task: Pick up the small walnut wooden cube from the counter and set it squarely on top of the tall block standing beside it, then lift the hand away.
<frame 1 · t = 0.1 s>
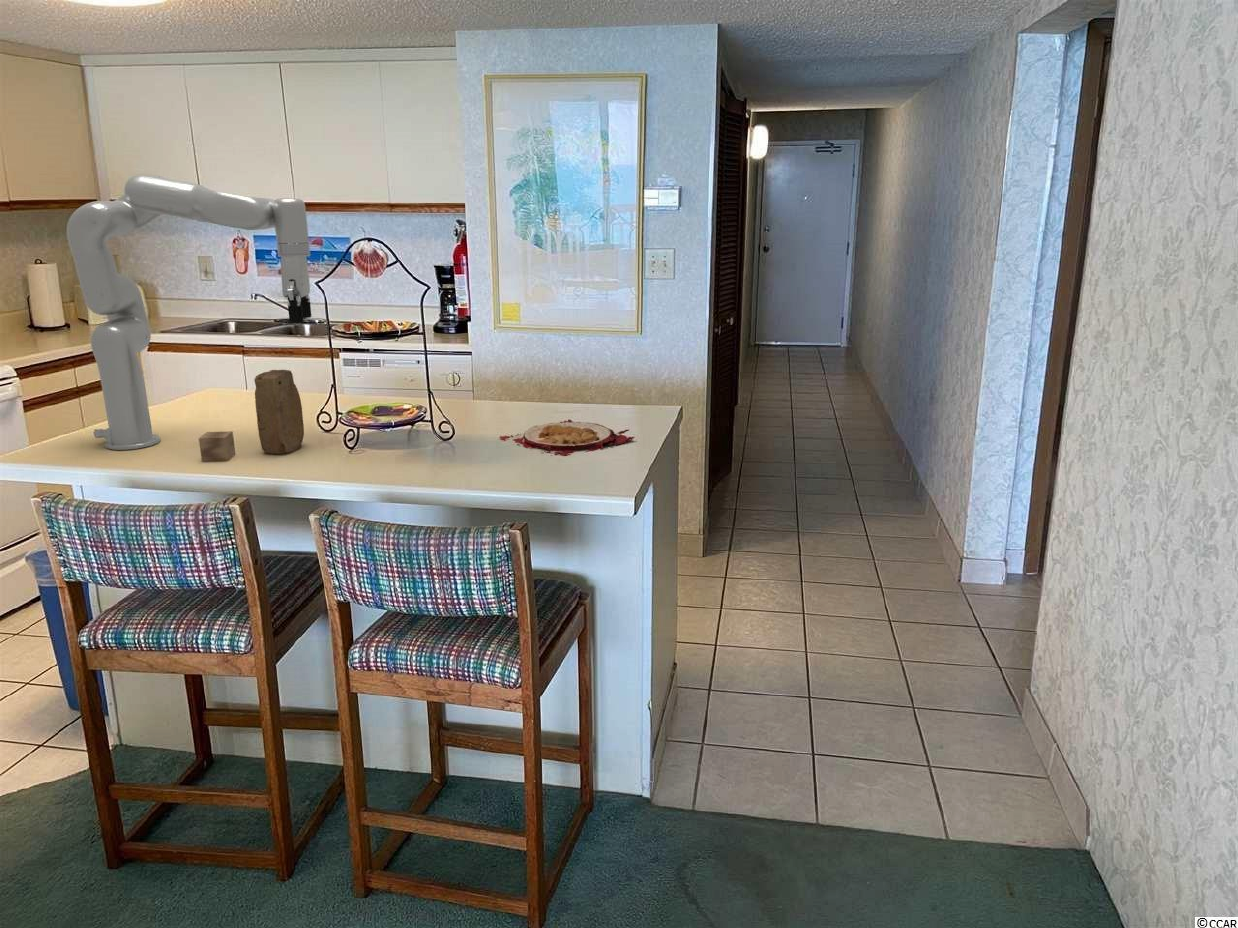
hand: (300, 320, 224), 31 cm above the worktop, tool pointing down, fingers open, 9 cm apart
plate with food: (566, 443, 232), on the worktop
cube: (219, 458, 216), on the worktop
block: (284, 450, 223), on the worktop
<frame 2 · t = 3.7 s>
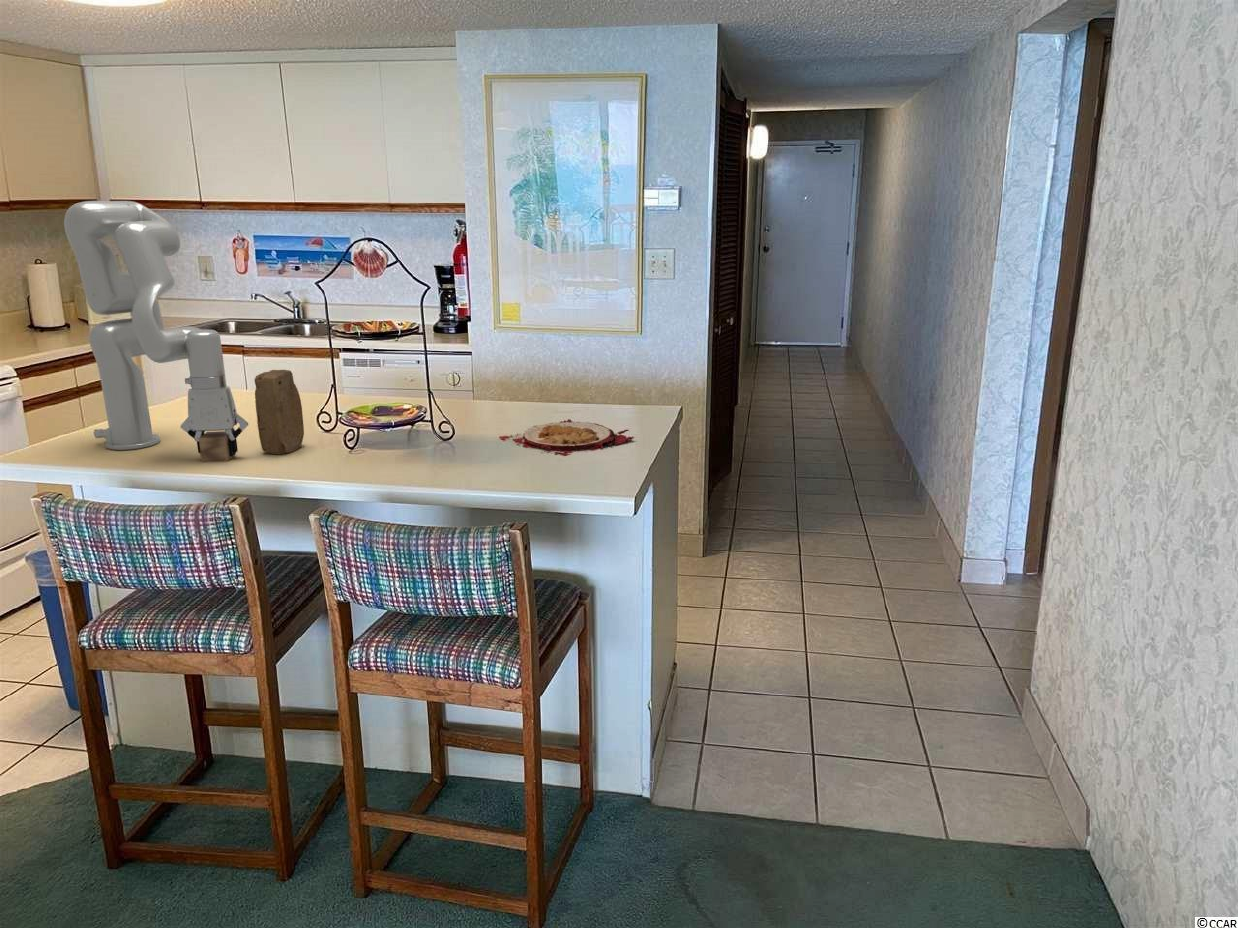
hand: (218, 454, 215), 1 cm above the worktop, tool pointing down, fingers closed on cube, 6 cm apart
cube: (219, 458, 216), on the worktop, touching gripper
everything else where it was.
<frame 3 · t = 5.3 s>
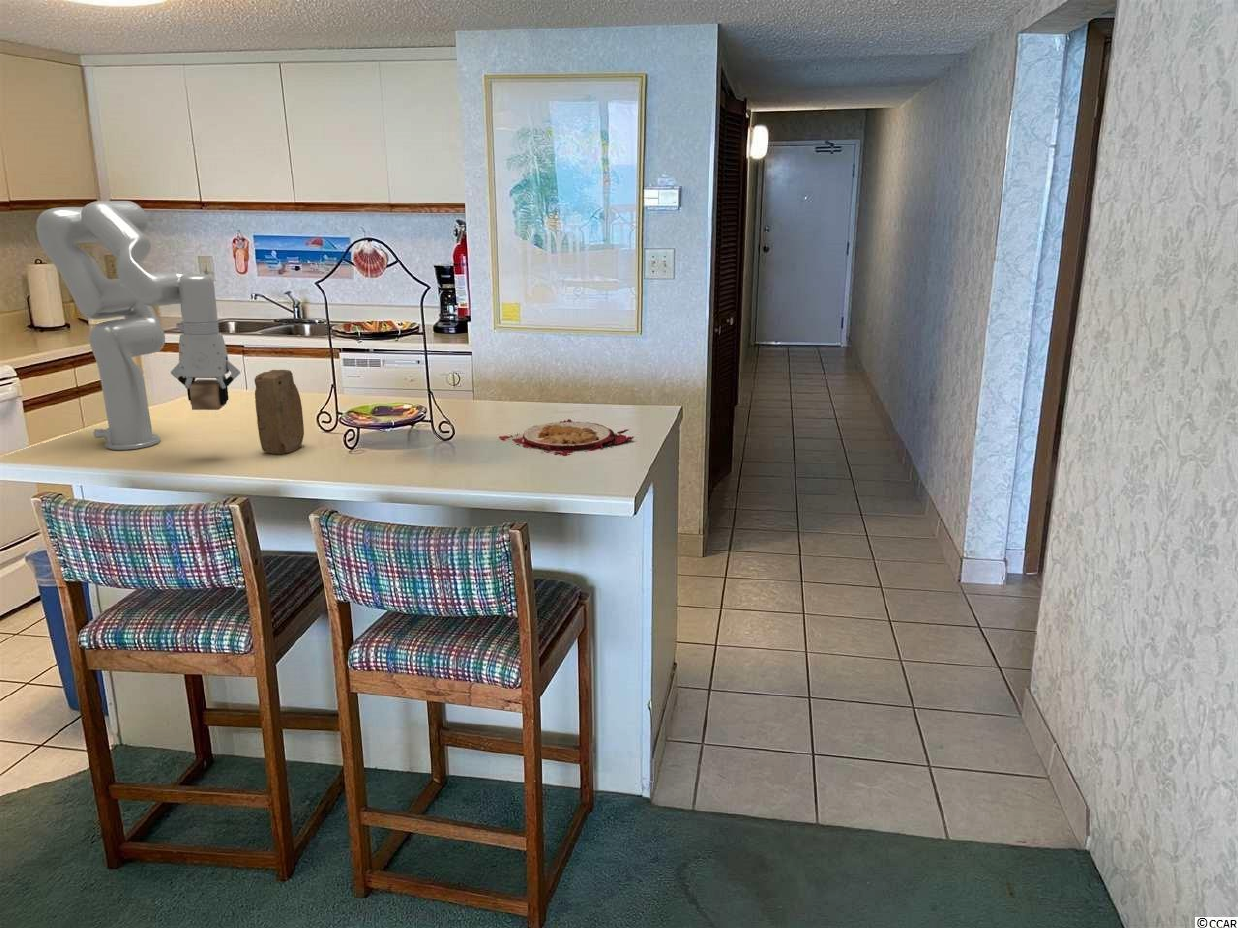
hand: (209, 402, 212), 14 cm above the worktop, tool pointing down, fingers closed on cube, 6 cm apart
cube: (209, 406, 212), point 13 cm above the worktop, touching gripper
everything else where it was.
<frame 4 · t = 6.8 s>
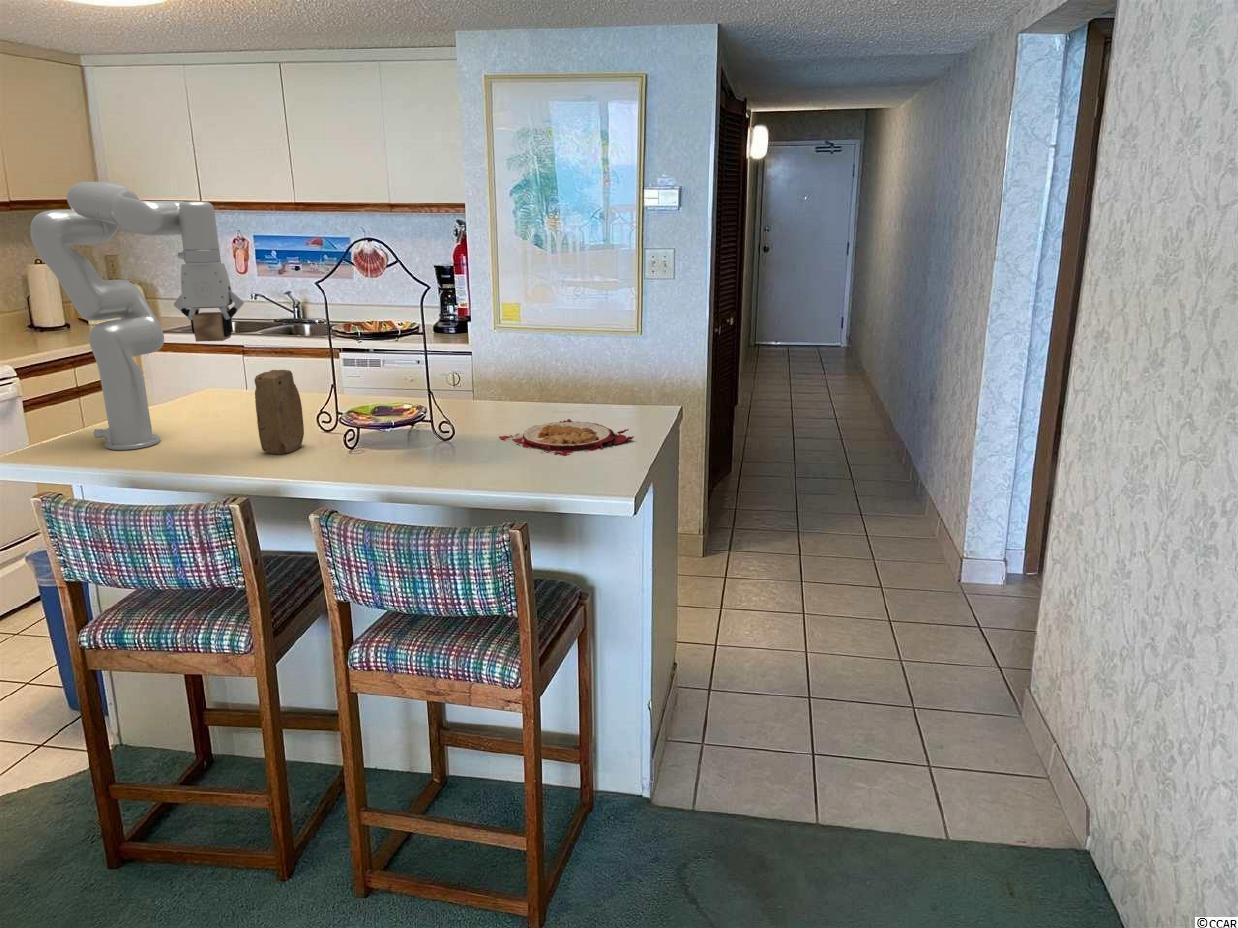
hand: (213, 335, 208), 30 cm above the worktop, tool pointing down, fingers closed on cube, 6 cm apart
cube: (213, 339, 208), point 29 cm above the worktop, touching gripper
everything else where it was.
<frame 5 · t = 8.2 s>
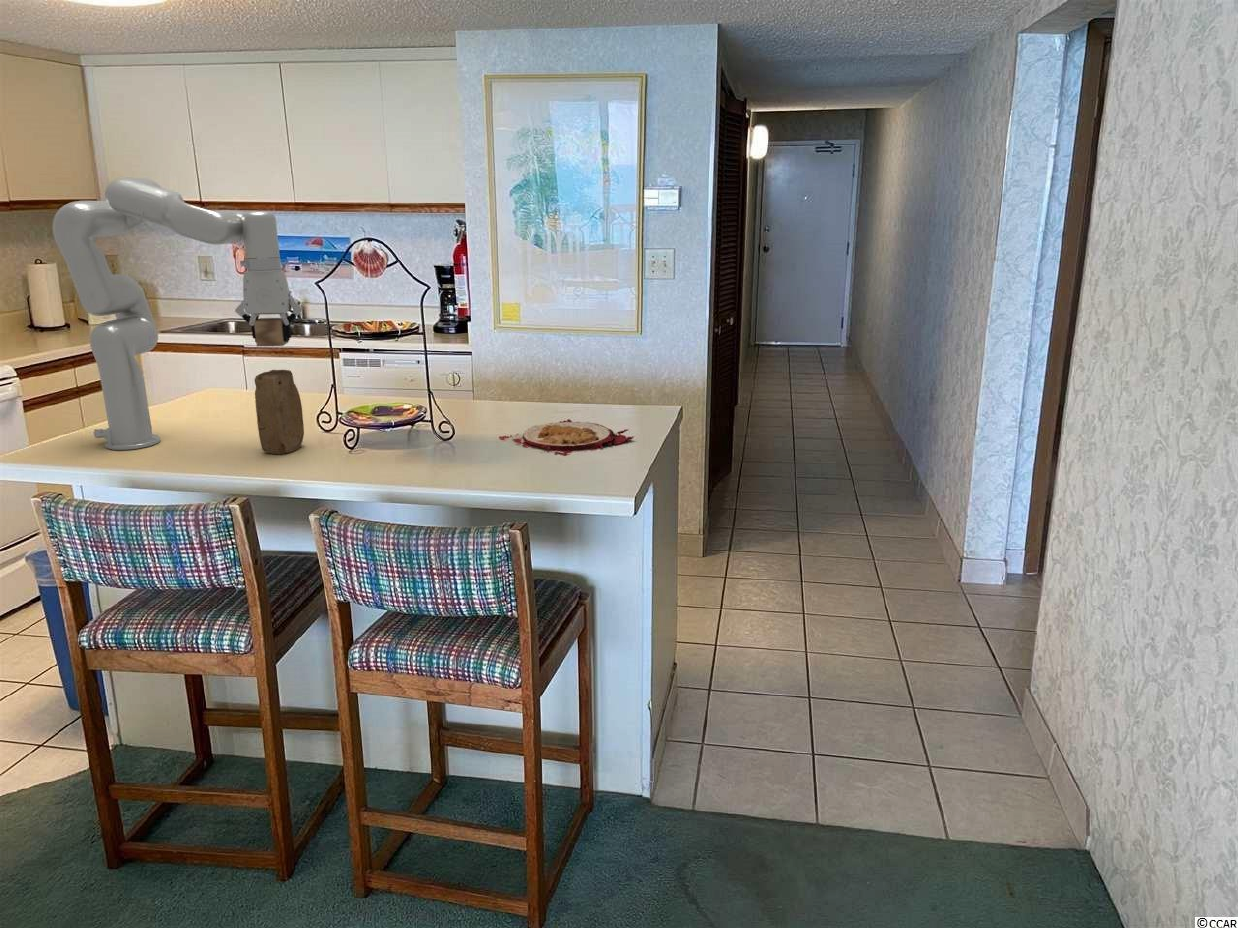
hand: (272, 340, 215), 28 cm above the worktop, tool pointing down, fingers closed on cube, 6 cm apart
cube: (272, 344, 215), point 27 cm above the worktop, touching gripper
everything else where it was.
when the fingers open (22 cm above the worktop, at t = 10.1 s): cube drops 1 cm, resting on block.
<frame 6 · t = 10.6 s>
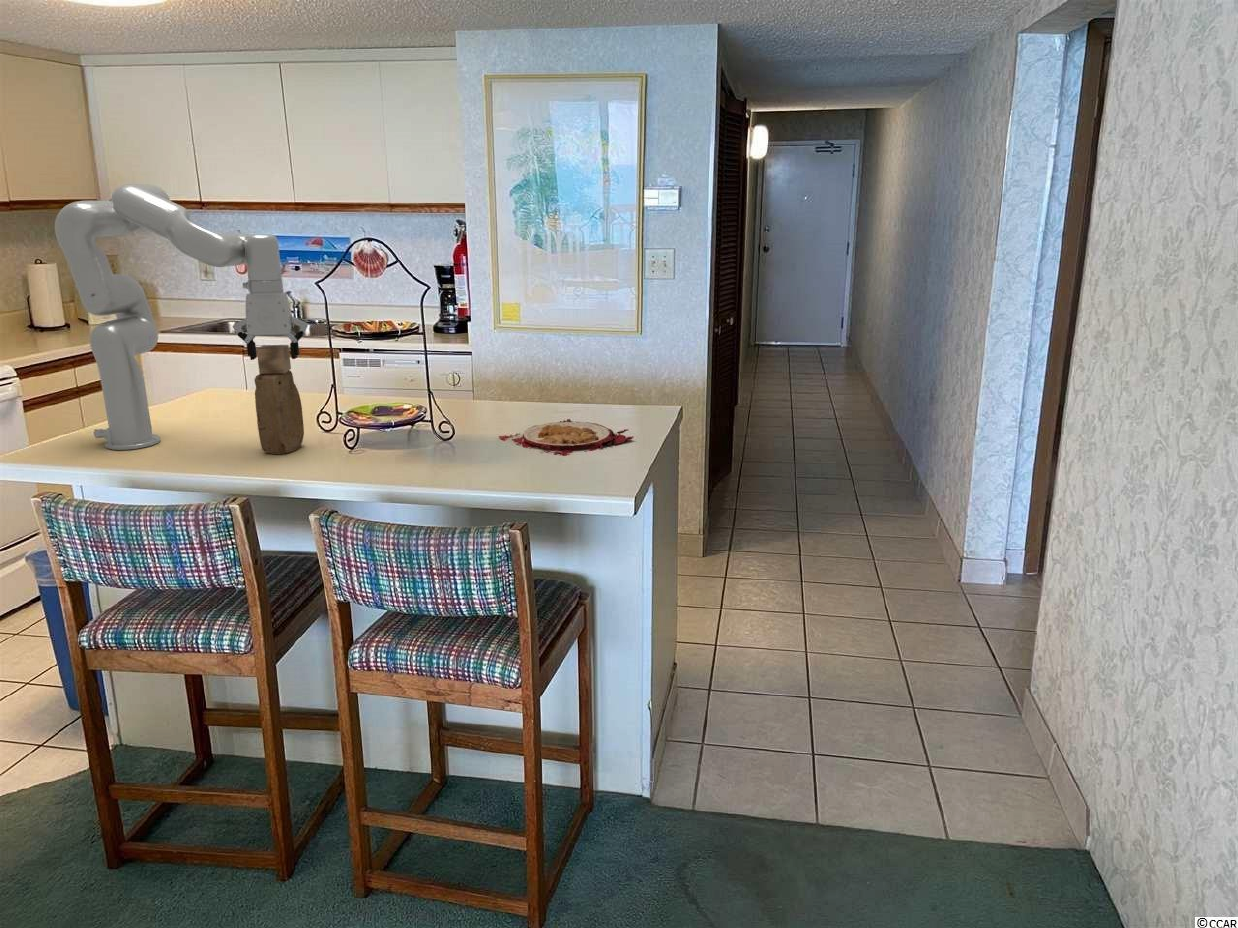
hand: (274, 358, 216), 23 cm above the worktop, tool pointing down, fingers open, 9 cm apart
cube: (275, 371, 217), point 20 cm above the worktop, touching block
block: (284, 450, 223), on the worktop, touching cube
everything else where it was.
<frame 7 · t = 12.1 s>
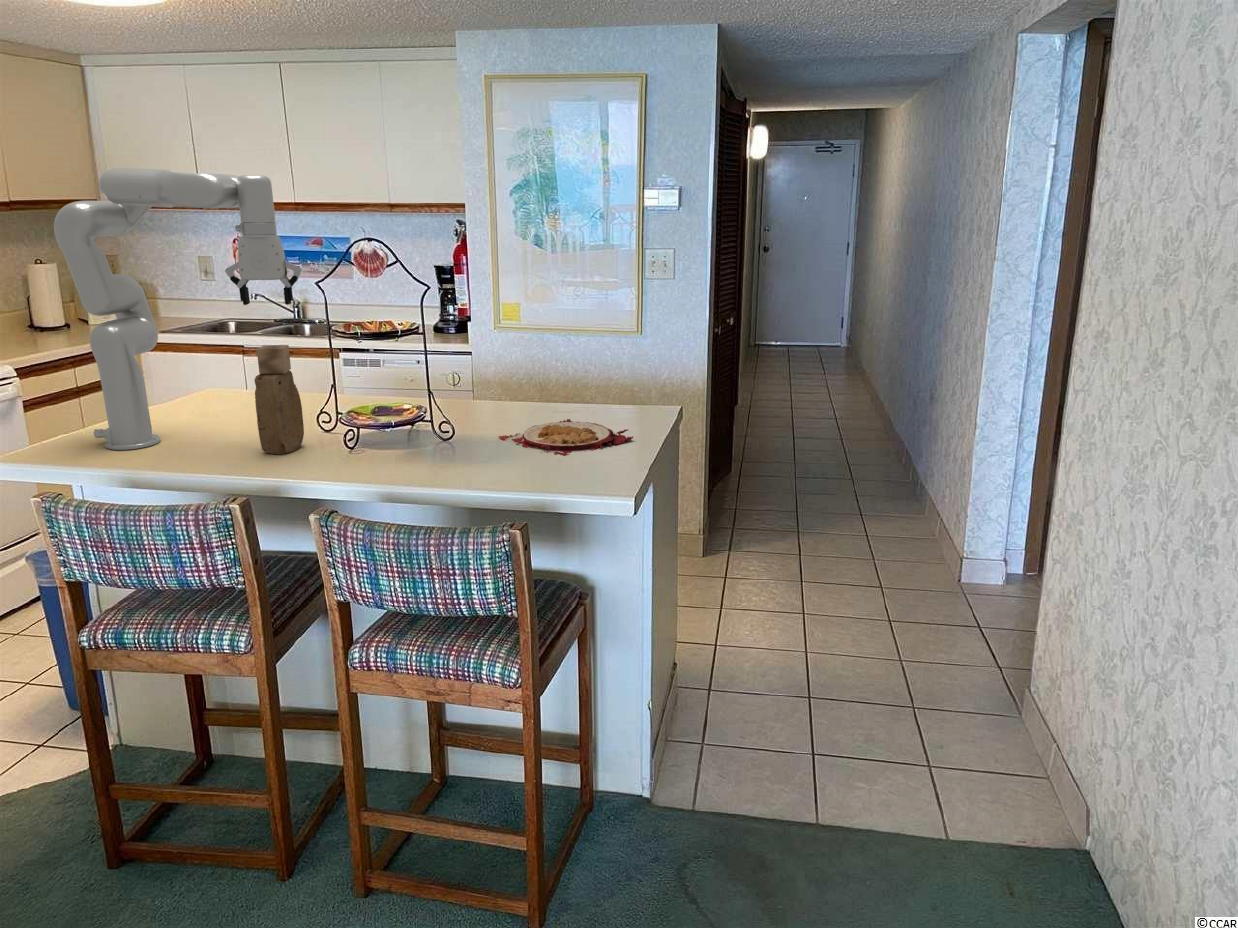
hand: (267, 304, 213), 36 cm above the worktop, tool pointing down, fingers open, 9 cm apart
nothing on the worktop moved.
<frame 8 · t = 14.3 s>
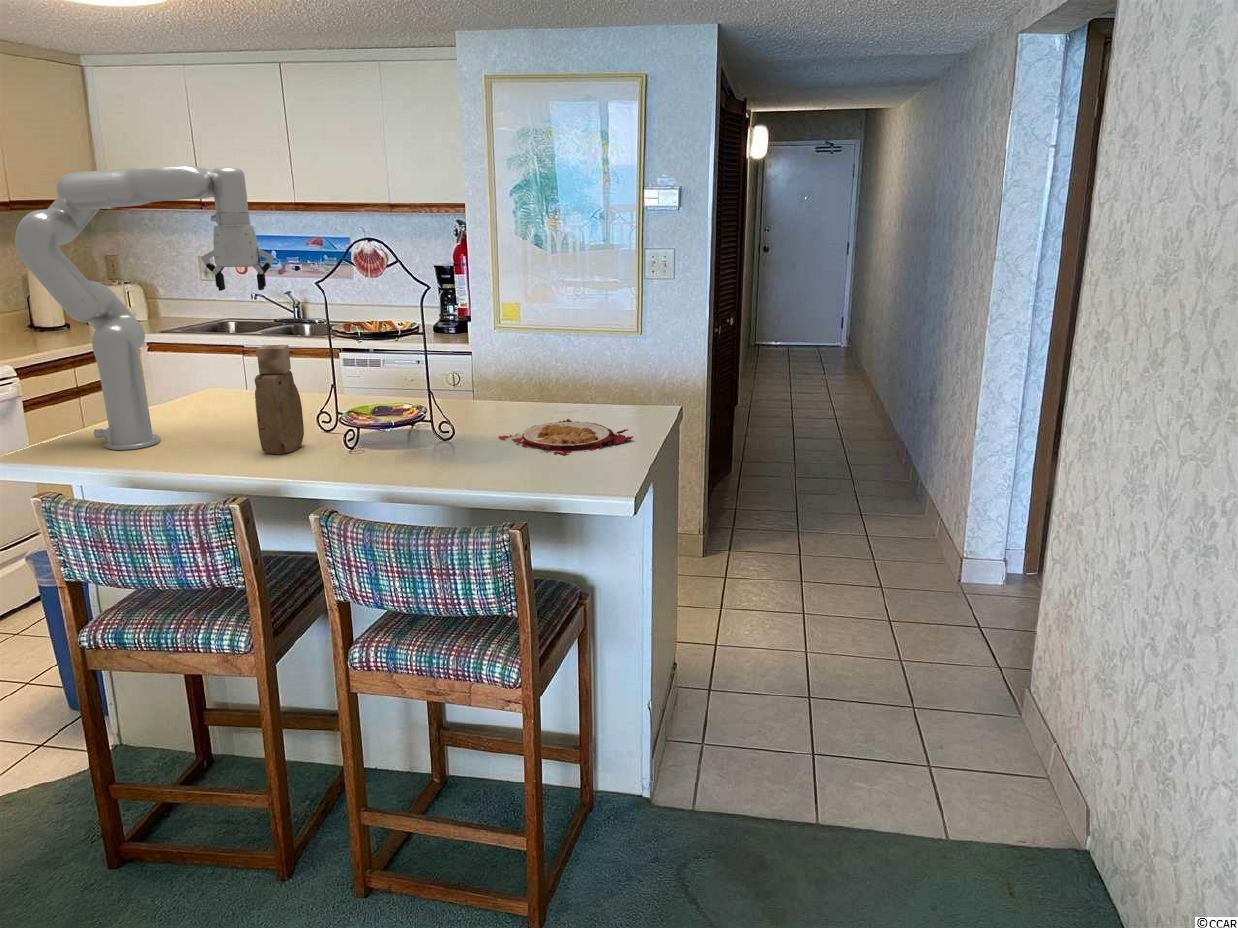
hand: (241, 290, 225), 38 cm above the worktop, tool pointing down, fingers open, 9 cm apart
nothing on the worktop moved.
at the end: cube 0.1 cm off-centre on the block, point 20.2 cm above the block's base; block tilted 0°; the gripper is holding nothing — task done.
